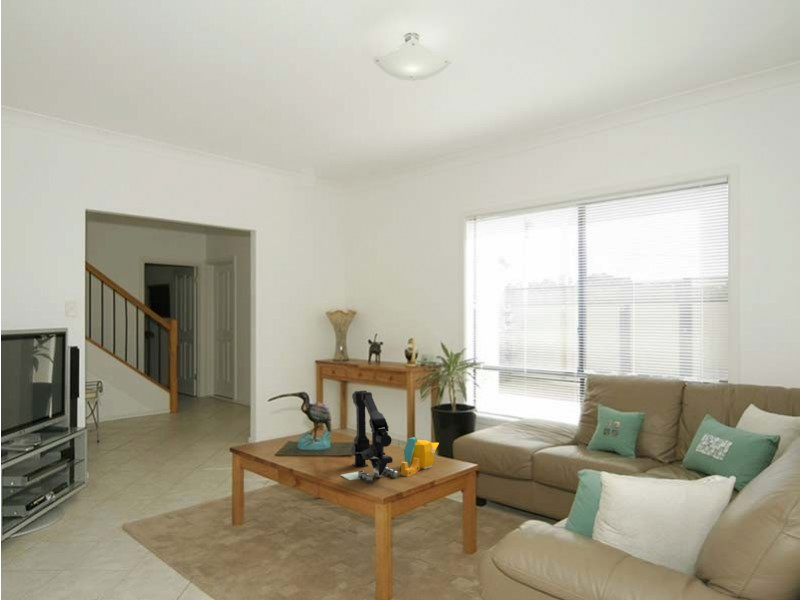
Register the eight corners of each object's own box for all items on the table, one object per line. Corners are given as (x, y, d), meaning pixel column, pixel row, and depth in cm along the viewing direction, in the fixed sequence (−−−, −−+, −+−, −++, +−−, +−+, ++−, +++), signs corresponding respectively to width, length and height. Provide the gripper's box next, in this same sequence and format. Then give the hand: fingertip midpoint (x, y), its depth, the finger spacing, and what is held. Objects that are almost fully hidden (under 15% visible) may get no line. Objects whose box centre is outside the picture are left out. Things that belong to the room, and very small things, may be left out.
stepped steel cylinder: (371, 475, 276) (371, 467, 276) (379, 474, 279) (379, 466, 279) (376, 478, 273) (376, 469, 273) (384, 476, 275) (384, 468, 275)
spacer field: (357, 477, 276) (357, 471, 276) (386, 472, 285) (386, 466, 285) (368, 483, 266) (368, 477, 266) (398, 477, 276) (398, 471, 276)
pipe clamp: (407, 476, 278) (407, 463, 278) (401, 475, 280) (401, 462, 280) (422, 471, 287) (422, 458, 287) (415, 469, 290) (415, 457, 290)
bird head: (448, 462, 303) (448, 432, 304) (417, 472, 285) (417, 440, 285) (429, 457, 313) (429, 429, 313) (397, 467, 294) (397, 436, 294)
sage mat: (340, 475, 279) (340, 474, 279) (358, 472, 285) (358, 471, 285) (349, 480, 271) (349, 479, 271) (367, 477, 276) (367, 476, 276)
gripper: (354, 440, 280) (354, 472, 279) (373, 448, 264) (373, 481, 264) (373, 437, 286) (373, 468, 285) (393, 445, 270) (393, 477, 270)
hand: (377, 474), depth 276 cm, fingers closed on stepped steel cylinder, 4 cm apart
